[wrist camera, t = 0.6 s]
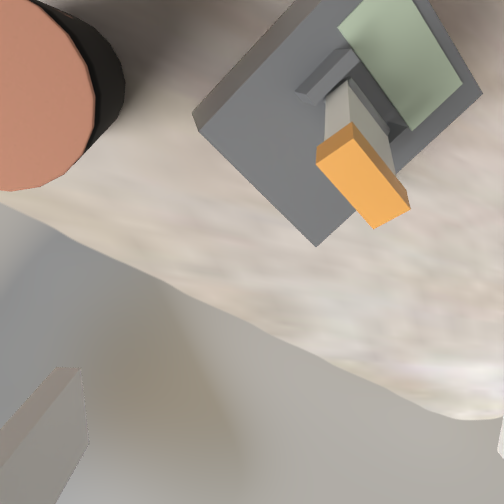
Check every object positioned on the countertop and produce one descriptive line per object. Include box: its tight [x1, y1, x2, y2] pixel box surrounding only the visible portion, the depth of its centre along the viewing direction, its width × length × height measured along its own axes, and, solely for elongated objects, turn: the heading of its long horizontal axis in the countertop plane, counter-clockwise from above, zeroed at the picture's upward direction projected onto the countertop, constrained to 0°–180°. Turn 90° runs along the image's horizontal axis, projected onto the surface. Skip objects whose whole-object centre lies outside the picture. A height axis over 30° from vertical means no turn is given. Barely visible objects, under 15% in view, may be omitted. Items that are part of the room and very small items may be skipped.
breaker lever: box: [316, 77, 410, 229], centre depth 27 cm, size 6×2×11 cm, turn 43°
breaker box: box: [192, 0, 483, 247], centre depth 36 cm, size 14×18×15 cm
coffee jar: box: [0, 0, 125, 191], centre depth 30 cm, size 11×11×18 cm
